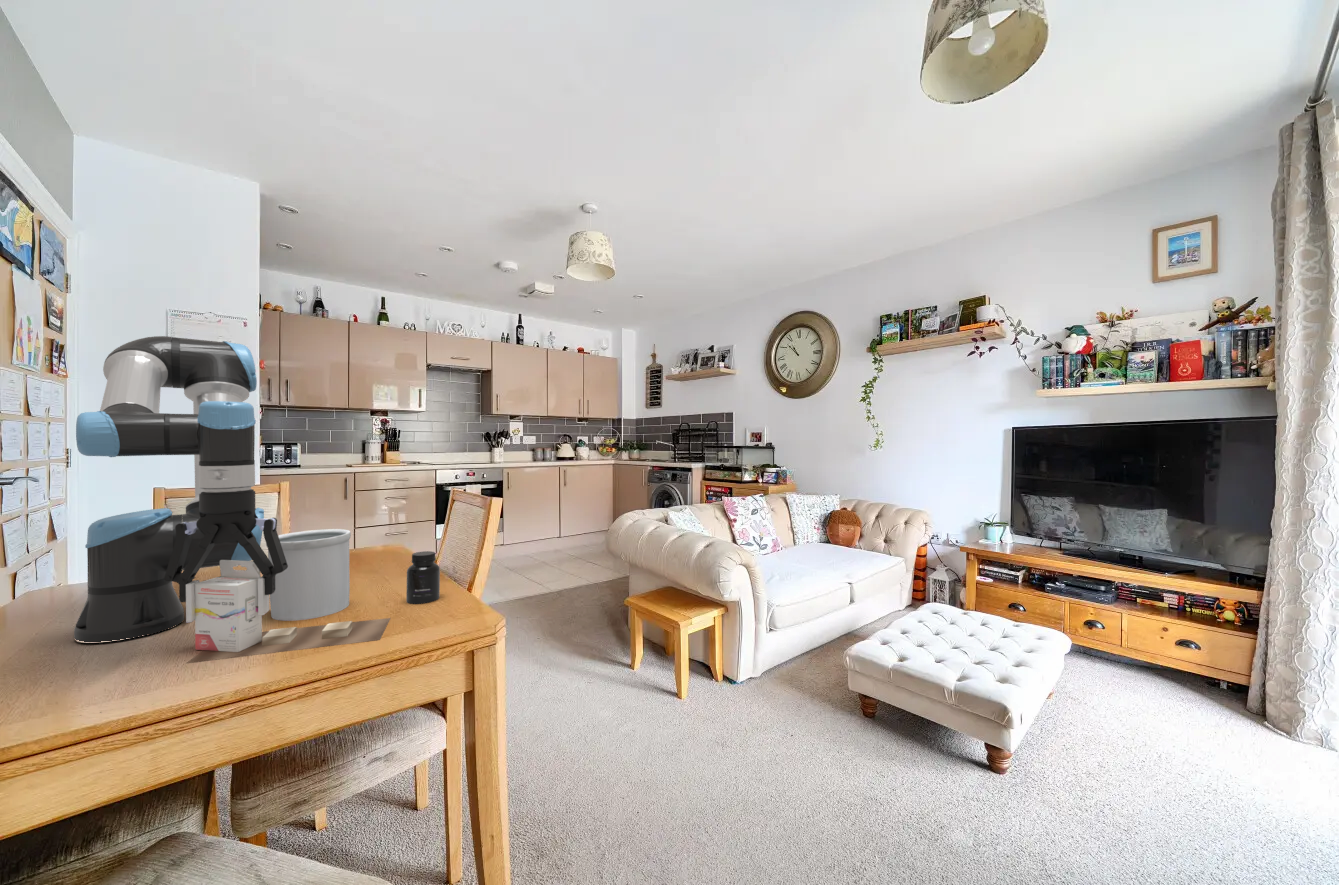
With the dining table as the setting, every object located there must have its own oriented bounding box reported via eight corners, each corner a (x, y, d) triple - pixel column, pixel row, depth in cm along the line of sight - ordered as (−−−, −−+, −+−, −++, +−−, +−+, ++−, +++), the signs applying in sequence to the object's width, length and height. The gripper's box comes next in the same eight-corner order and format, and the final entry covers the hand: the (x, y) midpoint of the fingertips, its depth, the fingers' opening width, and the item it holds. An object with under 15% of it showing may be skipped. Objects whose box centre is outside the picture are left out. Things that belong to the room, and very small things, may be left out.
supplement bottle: (418, 613, 112) (417, 558, 112) (400, 607, 116) (399, 554, 116) (446, 604, 118) (446, 552, 118) (428, 599, 122) (428, 548, 122)
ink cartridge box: (192, 650, 89) (191, 565, 89) (220, 639, 94) (219, 559, 94) (238, 653, 88) (237, 567, 88) (263, 641, 93) (262, 560, 93)
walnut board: (186, 672, 84) (185, 663, 84) (220, 644, 95) (220, 636, 95) (379, 648, 94) (379, 639, 94) (390, 625, 105) (390, 617, 105)
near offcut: (262, 646, 91) (262, 637, 91) (270, 637, 95) (270, 629, 95) (289, 642, 92) (289, 634, 92) (296, 634, 96) (296, 626, 96)
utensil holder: (249, 623, 106) (249, 538, 106) (321, 601, 120) (320, 526, 120) (298, 633, 101) (297, 544, 101) (367, 609, 115) (366, 530, 115)
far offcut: (321, 639, 94) (321, 630, 94) (328, 631, 98) (328, 623, 98) (347, 636, 96) (347, 628, 96) (352, 628, 99) (352, 620, 99)
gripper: (132, 494, 83) (134, 631, 84) (295, 489, 91) (296, 615, 91) (160, 489, 90) (161, 616, 91) (308, 485, 98) (309, 602, 98)
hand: (229, 616), depth 91 cm, fingers closed on ink cartridge box, 9 cm apart
